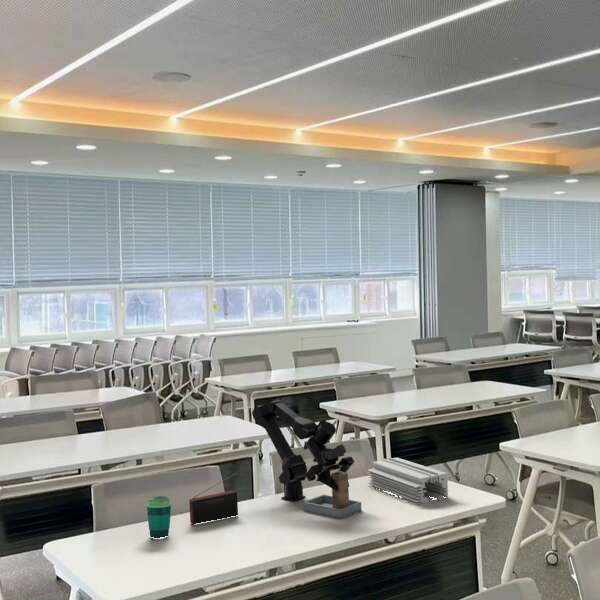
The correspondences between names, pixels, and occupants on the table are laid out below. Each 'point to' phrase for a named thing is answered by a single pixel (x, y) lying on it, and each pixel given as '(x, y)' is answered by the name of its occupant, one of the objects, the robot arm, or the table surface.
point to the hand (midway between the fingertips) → (342, 488)
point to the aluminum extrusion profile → (408, 480)
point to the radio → (213, 506)
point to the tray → (330, 507)
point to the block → (340, 490)
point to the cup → (159, 516)
